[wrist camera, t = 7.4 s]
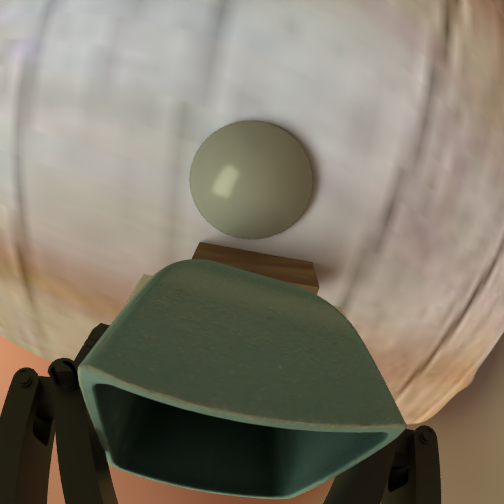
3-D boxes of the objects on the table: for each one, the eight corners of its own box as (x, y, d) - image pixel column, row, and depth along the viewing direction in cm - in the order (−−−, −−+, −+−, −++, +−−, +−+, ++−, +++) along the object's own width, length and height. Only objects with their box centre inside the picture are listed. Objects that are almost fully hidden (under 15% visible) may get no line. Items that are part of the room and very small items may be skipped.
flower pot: (352, 264, 14) (417, 428, 6) (285, 372, 18) (289, 501, 10) (176, 209, 13) (70, 362, 5) (153, 338, 17) (107, 465, 9)
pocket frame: (199, 242, 31) (189, 264, 27) (311, 262, 32) (319, 287, 27) (191, 327, 37) (183, 354, 32) (284, 342, 37) (286, 370, 33)
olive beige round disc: (200, 112, 25) (198, 112, 24) (323, 135, 26) (325, 135, 25) (185, 225, 30) (183, 228, 30) (295, 245, 31) (296, 248, 30)
